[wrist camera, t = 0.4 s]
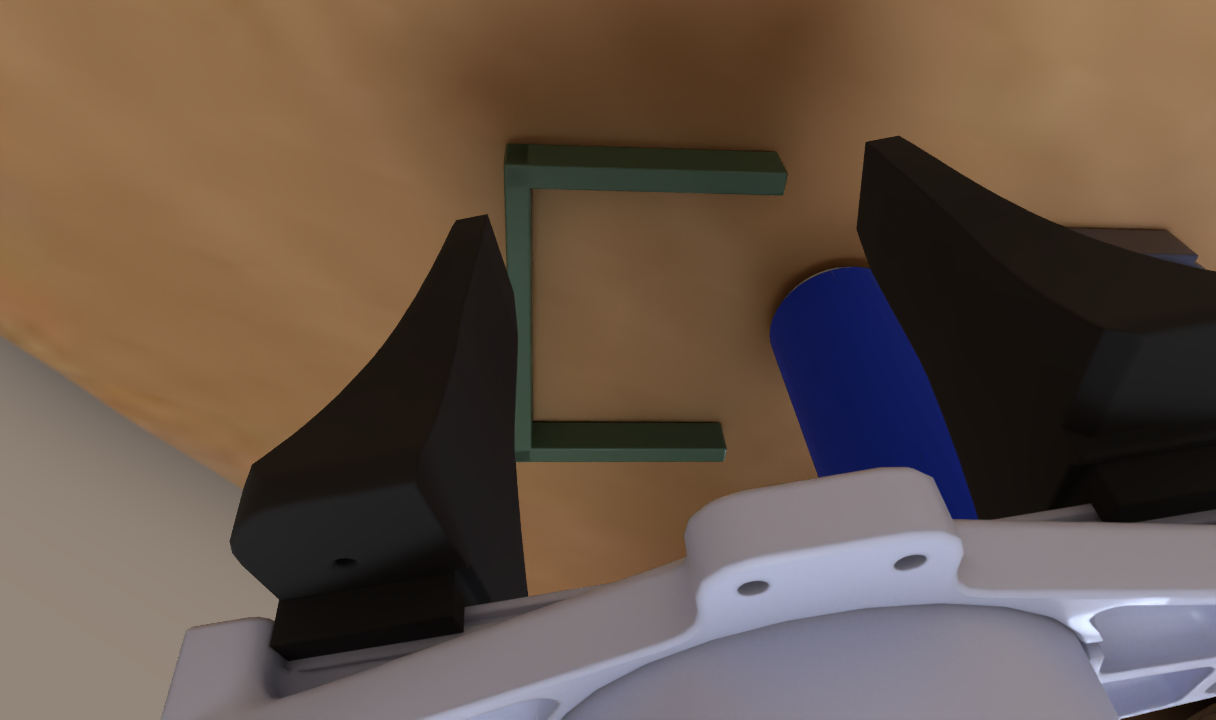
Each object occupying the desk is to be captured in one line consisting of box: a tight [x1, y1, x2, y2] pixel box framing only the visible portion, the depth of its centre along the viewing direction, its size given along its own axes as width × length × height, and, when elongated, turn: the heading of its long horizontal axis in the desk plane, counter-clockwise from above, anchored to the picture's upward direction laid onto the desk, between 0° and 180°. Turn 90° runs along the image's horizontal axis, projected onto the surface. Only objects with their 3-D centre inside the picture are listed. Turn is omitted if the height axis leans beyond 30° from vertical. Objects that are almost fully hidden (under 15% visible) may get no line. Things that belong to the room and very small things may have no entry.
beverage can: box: [770, 267, 978, 520], centre depth 24 cm, size 5×5×15 cm
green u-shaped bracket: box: [504, 144, 788, 462], centre depth 28 cm, size 13×9×2 cm
